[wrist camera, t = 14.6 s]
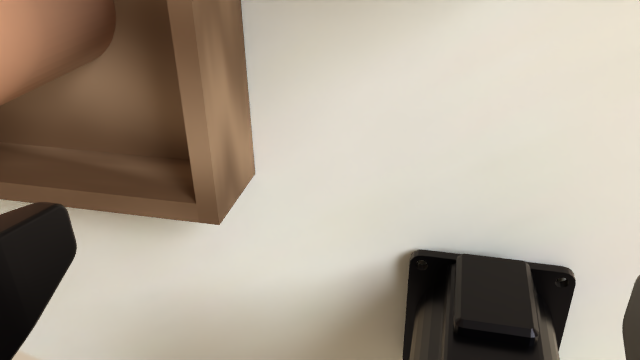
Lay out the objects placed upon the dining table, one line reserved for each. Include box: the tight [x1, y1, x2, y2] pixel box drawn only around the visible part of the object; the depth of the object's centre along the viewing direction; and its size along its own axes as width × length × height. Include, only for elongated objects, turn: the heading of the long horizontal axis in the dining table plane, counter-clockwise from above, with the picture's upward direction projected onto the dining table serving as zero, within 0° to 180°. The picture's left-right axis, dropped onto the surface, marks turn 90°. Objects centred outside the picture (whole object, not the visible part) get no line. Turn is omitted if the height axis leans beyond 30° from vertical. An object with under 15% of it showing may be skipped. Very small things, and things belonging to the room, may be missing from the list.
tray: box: [0, 0, 255, 225], centre depth 20 cm, size 14×14×4 cm
